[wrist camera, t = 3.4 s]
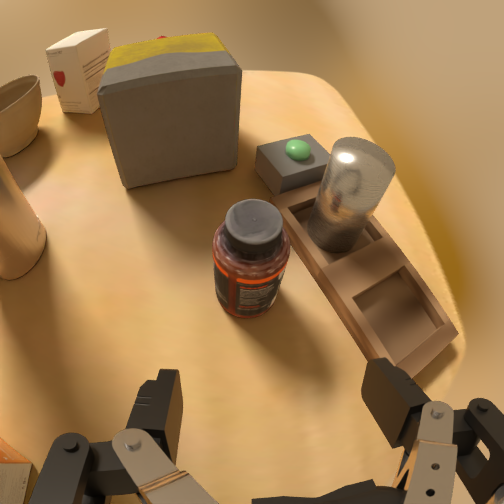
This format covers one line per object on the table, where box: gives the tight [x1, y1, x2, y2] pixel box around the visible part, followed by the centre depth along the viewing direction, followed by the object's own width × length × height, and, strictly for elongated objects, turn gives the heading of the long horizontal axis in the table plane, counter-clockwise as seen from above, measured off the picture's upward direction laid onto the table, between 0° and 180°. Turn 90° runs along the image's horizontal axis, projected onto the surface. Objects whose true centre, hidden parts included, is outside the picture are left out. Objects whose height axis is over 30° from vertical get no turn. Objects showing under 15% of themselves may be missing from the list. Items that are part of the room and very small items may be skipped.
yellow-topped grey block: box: [97, 33, 242, 188], centre depth 37 cm, size 15×24×15 cm, turn 16°
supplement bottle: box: [212, 199, 290, 318], centre depth 25 cm, size 6×6×11 cm
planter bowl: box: [0, 75, 42, 157], centre depth 38 cm, size 16×16×11 cm
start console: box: [255, 134, 330, 196], centre depth 37 cm, size 8×6×5 cm
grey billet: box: [307, 137, 395, 253], centre depth 29 cm, size 6×6×11 cm
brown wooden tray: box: [269, 181, 459, 379], centre depth 31 cm, size 24×10×2 cm, turn 28°
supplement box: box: [46, 28, 111, 114], centre depth 43 cm, size 9×9×15 cm
